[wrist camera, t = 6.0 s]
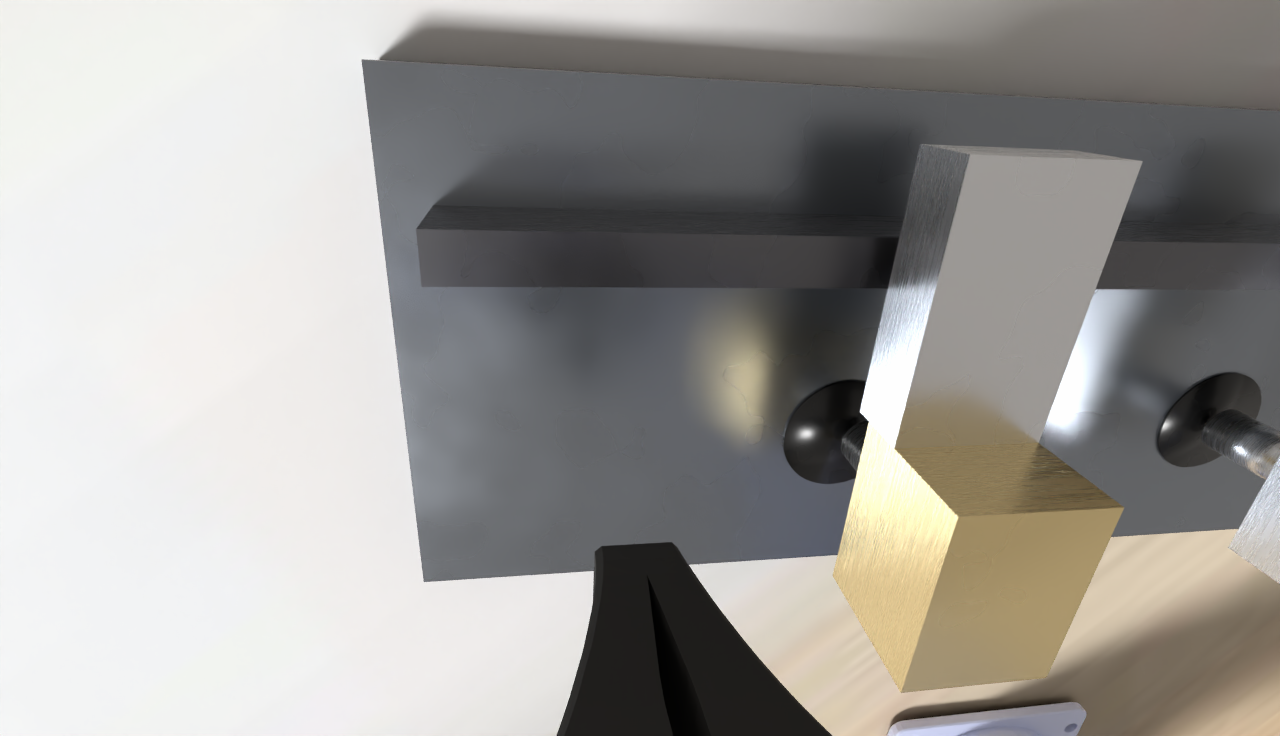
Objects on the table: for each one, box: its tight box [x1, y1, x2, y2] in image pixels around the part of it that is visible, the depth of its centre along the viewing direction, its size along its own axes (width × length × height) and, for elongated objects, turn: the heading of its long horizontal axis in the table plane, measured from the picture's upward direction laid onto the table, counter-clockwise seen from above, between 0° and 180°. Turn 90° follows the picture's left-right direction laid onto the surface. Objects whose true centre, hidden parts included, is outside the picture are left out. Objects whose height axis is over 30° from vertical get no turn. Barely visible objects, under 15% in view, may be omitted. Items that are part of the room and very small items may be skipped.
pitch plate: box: [362, 60, 1280, 584], centre depth 14 cm, size 12×25×7 cm, turn 87°
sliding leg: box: [833, 144, 1143, 693], centre depth 12 cm, size 9×3×5 cm, turn 177°
